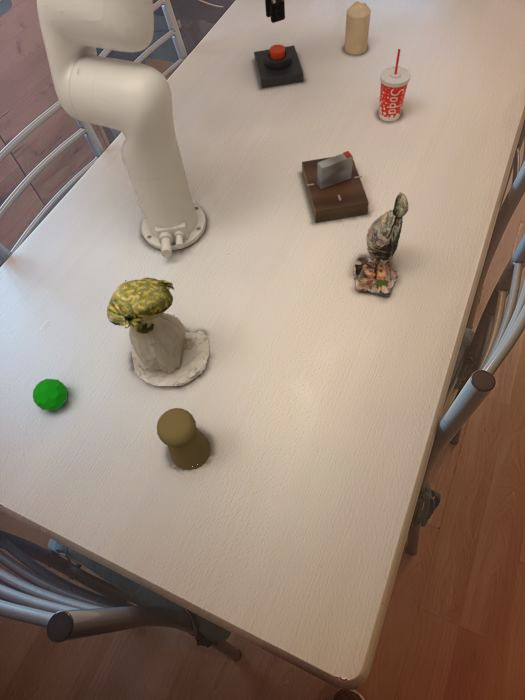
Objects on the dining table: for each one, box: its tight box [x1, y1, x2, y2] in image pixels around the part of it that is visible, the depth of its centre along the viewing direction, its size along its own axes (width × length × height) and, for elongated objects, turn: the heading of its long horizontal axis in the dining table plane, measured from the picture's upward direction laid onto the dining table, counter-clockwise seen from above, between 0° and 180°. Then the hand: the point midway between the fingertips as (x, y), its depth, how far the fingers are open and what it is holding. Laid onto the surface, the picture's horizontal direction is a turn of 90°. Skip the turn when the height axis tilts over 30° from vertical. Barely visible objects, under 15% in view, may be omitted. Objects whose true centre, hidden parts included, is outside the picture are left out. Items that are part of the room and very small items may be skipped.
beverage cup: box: [378, 48, 412, 122], centre depth 103 cm, size 6×6×14 cm
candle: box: [344, 0, 372, 56], centre depth 119 cm, size 6×6×10 cm
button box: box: [253, 45, 304, 89], centre depth 119 cm, size 12×10×4 cm
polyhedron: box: [32, 378, 68, 411], centre depth 78 cm, size 5×5×5 cm
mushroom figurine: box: [106, 277, 210, 387], centre depth 75 cm, size 12×13×18 cm
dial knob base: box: [301, 156, 370, 224], centre depth 97 cm, size 14×11×3 cm
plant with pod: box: [352, 191, 409, 298], centre depth 79 cm, size 8×11×20 cm
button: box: [269, 44, 286, 60], centre depth 117 cm, size 4×4×2 cm
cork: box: [156, 407, 212, 471], centre depth 69 cm, size 6×6×11 cm
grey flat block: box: [317, 150, 354, 189], centre depth 94 cm, size 6×2×5 cm, turn 114°
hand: (275, 17), depth 111 cm, fingers closed
